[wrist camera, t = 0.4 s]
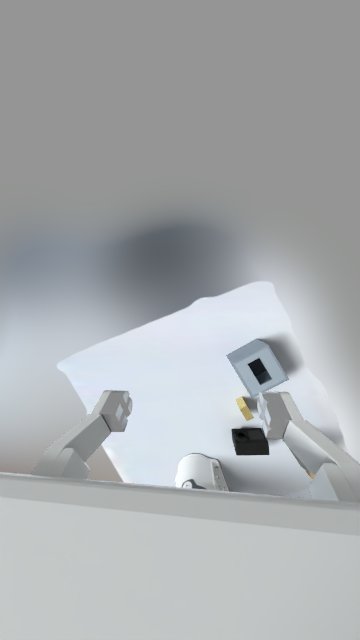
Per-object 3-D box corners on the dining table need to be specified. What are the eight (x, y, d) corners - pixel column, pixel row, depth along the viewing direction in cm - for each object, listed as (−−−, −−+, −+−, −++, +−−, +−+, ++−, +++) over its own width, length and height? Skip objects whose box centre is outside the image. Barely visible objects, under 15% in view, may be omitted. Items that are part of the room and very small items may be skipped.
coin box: (274, 368, 61) (288, 379, 51) (243, 384, 62) (252, 398, 52) (256, 338, 61) (267, 344, 51) (226, 355, 62) (231, 363, 52)
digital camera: (260, 424, 62) (268, 438, 55) (261, 439, 62) (269, 455, 55) (231, 425, 63) (235, 439, 56) (232, 439, 64) (236, 455, 57)
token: (248, 407, 62) (253, 417, 56) (242, 410, 63) (246, 420, 57) (241, 396, 62) (246, 405, 56) (235, 399, 63) (239, 409, 57)
